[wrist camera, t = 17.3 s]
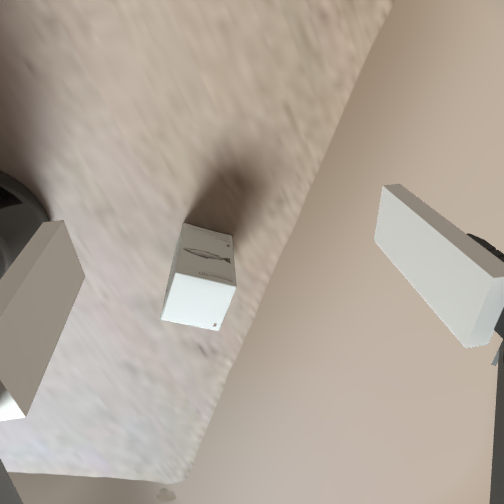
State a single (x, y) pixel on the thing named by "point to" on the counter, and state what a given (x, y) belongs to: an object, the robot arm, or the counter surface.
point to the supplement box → (200, 279)
